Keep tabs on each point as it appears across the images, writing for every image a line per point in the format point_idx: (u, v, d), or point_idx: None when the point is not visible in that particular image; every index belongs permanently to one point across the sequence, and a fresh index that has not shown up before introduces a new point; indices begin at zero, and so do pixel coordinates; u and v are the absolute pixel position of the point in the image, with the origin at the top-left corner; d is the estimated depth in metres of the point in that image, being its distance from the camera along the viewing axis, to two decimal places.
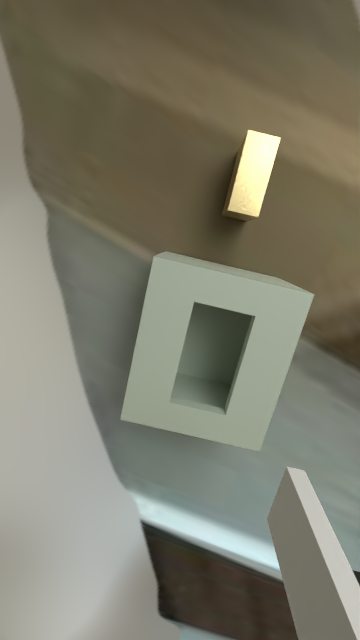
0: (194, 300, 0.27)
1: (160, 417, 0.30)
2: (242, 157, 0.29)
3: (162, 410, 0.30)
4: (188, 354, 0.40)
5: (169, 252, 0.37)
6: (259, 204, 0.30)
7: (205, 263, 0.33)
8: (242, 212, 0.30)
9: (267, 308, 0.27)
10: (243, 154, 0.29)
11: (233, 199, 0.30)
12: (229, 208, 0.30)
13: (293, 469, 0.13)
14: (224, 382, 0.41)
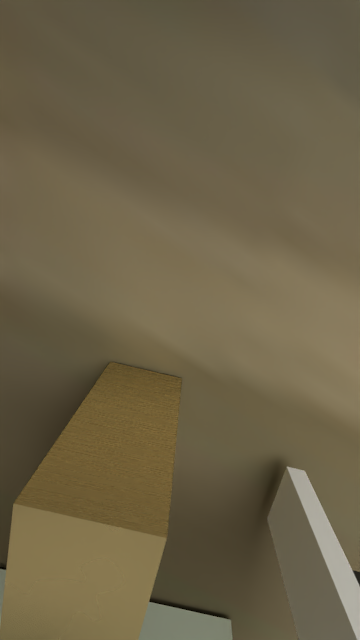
0: None
1: None
2: (9, 589, 0.07)
3: None
4: None
5: None
6: None
7: None
8: None
9: None
10: (11, 582, 0.06)
11: None
12: None
13: (293, 469, 0.13)
14: None
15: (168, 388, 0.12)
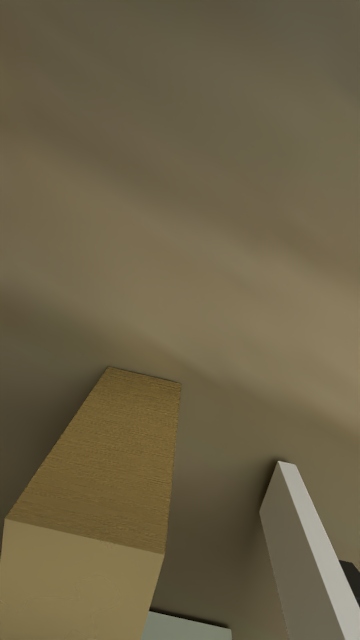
0: None
1: None
2: (1, 606, 0.06)
3: None
4: None
5: None
6: None
7: None
8: None
9: None
10: (2, 599, 0.06)
11: None
12: None
13: (284, 463, 0.13)
14: None
15: (167, 394, 0.11)
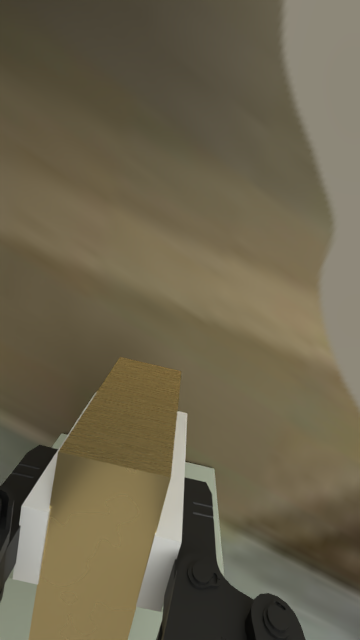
0: None
1: None
2: (51, 521, 0.09)
3: None
4: None
5: (62, 441, 0.27)
6: (122, 633, 0.10)
7: None
8: None
9: None
10: (52, 515, 0.09)
11: (39, 619, 0.10)
12: (32, 638, 0.10)
13: None
14: None
15: (170, 378, 0.14)
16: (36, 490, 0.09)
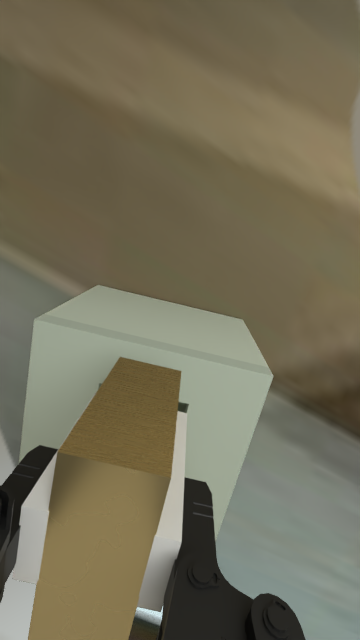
0: (99, 381, 0.18)
1: None
2: (50, 522, 0.09)
3: None
4: None
5: (100, 288, 0.28)
6: (122, 635, 0.09)
7: (136, 310, 0.24)
8: None
9: (205, 394, 0.18)
10: (52, 516, 0.08)
11: (39, 621, 0.09)
12: None
13: None
14: None
15: (170, 378, 0.14)
16: (36, 490, 0.09)
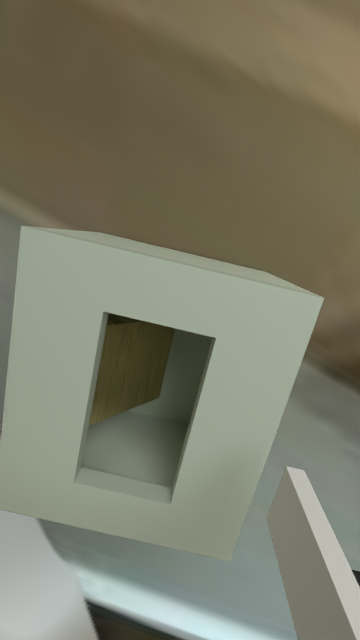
0: (103, 309, 0.15)
1: (61, 506, 0.18)
2: None
3: (63, 495, 0.17)
4: None
5: (102, 233, 0.25)
6: None
7: (146, 247, 0.20)
8: None
9: (237, 323, 0.15)
10: None
11: None
12: None
13: (292, 469, 0.13)
14: (190, 422, 0.28)
15: None
16: None
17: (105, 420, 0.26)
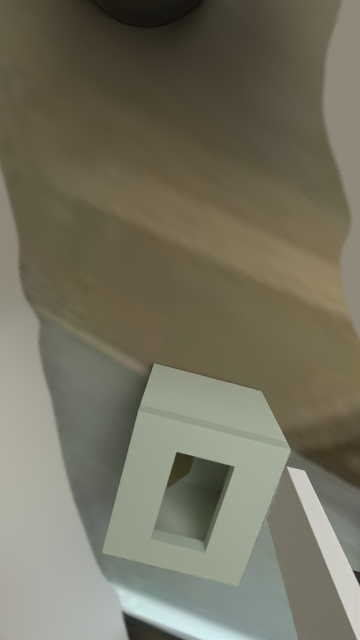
0: (176, 450, 0.28)
1: (141, 552, 0.31)
2: None
3: (143, 546, 0.30)
4: None
5: (157, 367, 0.38)
6: None
7: (190, 391, 0.34)
8: None
9: (246, 460, 0.28)
10: None
11: None
12: None
13: (293, 469, 0.13)
14: (208, 486, 0.42)
15: None
16: None
17: None
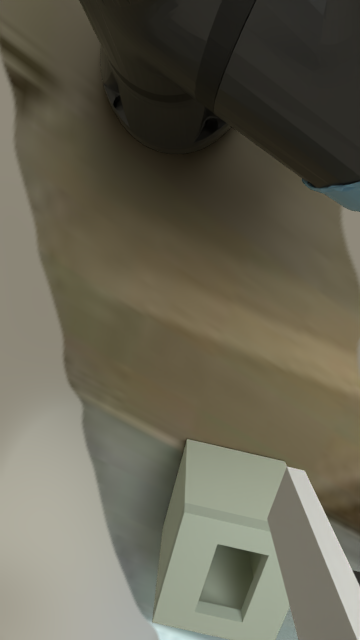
0: (217, 543, 0.32)
1: (186, 622, 0.35)
2: None
3: (188, 617, 0.35)
4: None
5: (190, 444, 0.42)
6: None
7: (223, 475, 0.38)
8: None
9: None
10: None
11: None
12: None
13: (293, 469, 0.13)
14: None
15: None
16: None
17: None
